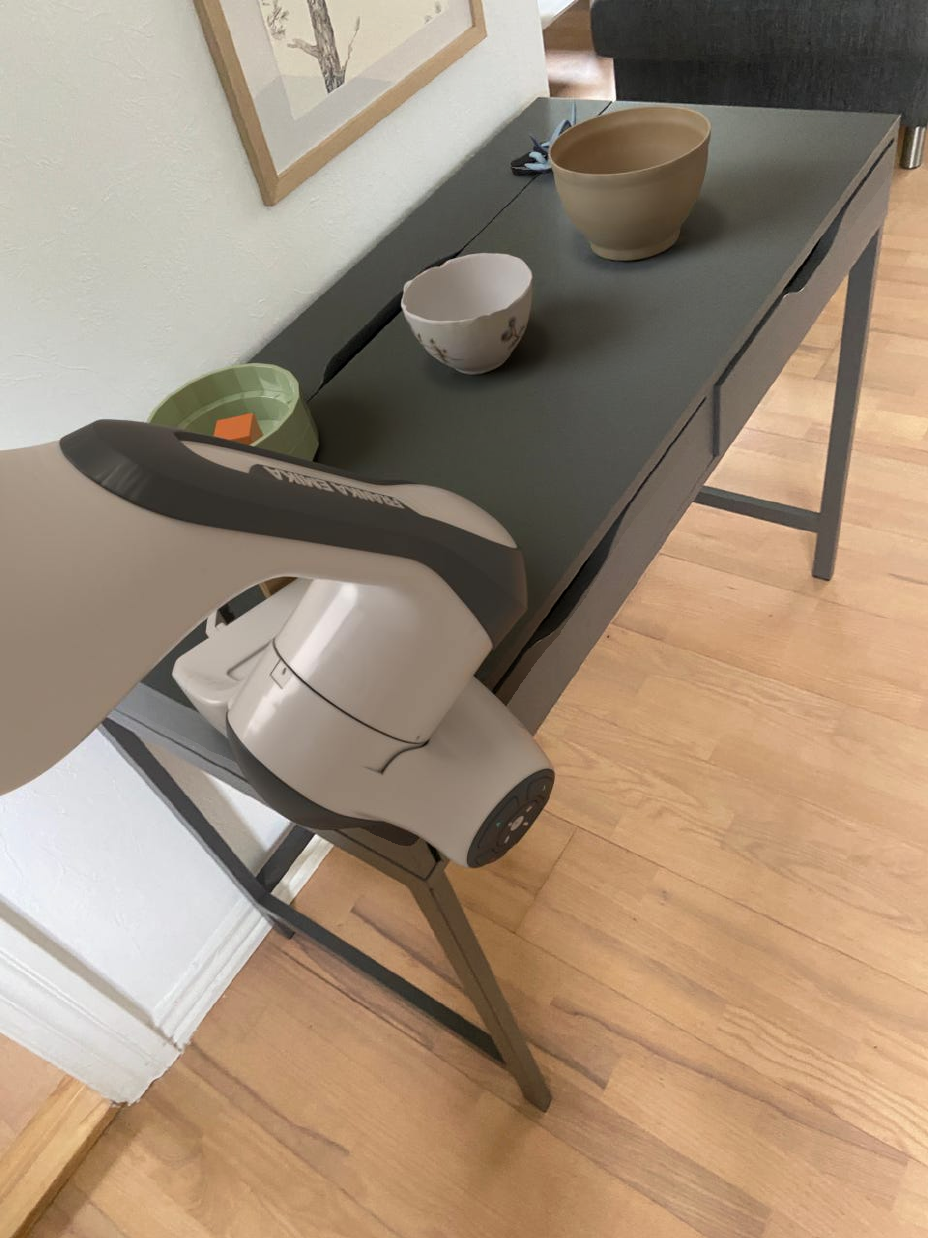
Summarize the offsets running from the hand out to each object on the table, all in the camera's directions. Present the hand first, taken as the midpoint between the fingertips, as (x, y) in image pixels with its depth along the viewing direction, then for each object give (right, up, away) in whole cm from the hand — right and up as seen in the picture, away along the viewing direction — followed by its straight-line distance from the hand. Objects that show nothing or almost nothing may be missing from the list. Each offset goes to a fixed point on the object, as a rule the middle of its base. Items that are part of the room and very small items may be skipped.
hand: (266, 567), depth 68 cm
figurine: (+27, +53, +48) cm, 76 cm away
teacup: (+16, +23, +23) cm, 36 cm away
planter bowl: (+34, +37, +32) cm, 59 cm away
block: (-8, +12, +18) cm, 23 cm away
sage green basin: (-6, +11, +19) cm, 23 cm away
